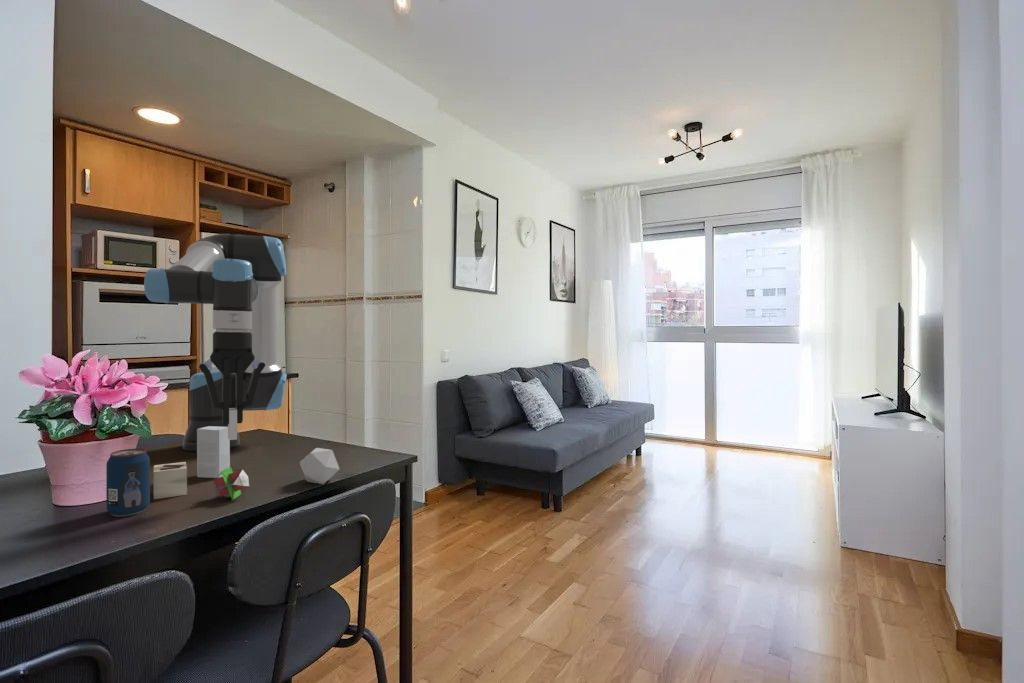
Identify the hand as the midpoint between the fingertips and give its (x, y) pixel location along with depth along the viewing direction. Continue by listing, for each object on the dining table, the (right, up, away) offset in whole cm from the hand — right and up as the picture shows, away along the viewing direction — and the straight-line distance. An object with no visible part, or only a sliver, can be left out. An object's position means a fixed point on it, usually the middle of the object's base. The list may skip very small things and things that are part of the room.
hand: (232, 438), depth 112 cm
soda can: (-15, -13, -10) cm, 22 cm away
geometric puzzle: (0, -13, -1) cm, 13 cm away
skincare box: (-13, -12, +15) cm, 23 cm away
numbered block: (-15, -13, +2) cm, 19 cm away
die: (+15, -13, +12) cm, 23 cm away
